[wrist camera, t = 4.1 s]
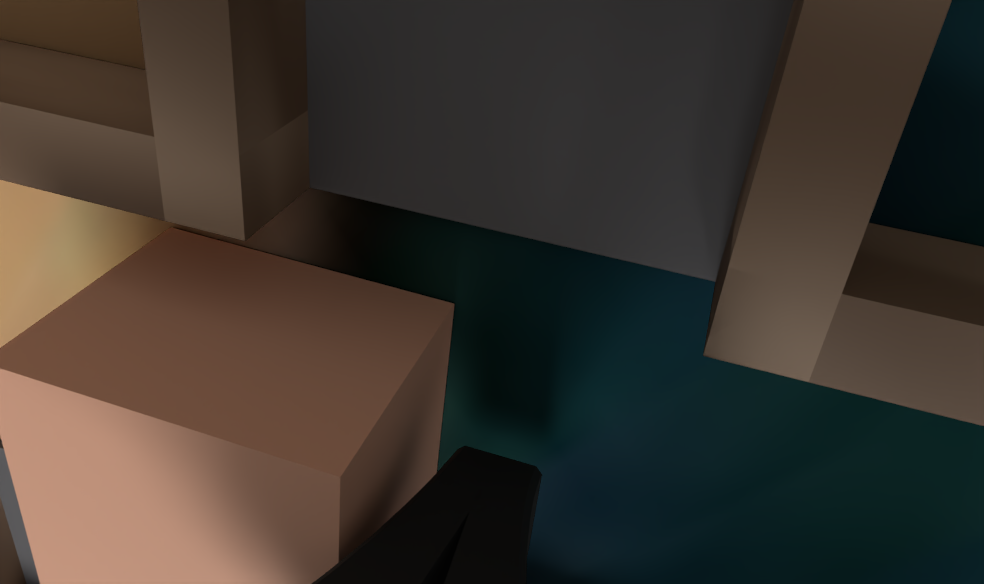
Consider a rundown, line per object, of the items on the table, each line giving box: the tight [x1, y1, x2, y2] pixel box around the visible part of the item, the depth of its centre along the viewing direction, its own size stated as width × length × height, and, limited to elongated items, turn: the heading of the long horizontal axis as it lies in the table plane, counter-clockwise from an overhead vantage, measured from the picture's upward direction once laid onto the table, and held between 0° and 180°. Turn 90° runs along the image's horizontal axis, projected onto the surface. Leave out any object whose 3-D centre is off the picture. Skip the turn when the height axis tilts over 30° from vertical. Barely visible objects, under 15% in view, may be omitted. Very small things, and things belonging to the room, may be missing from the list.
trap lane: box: [0, 0, 984, 584], centre depth 15 cm, size 22×31×3 cm
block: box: [0, 227, 454, 584], centre depth 13 cm, size 5×5×4 cm
